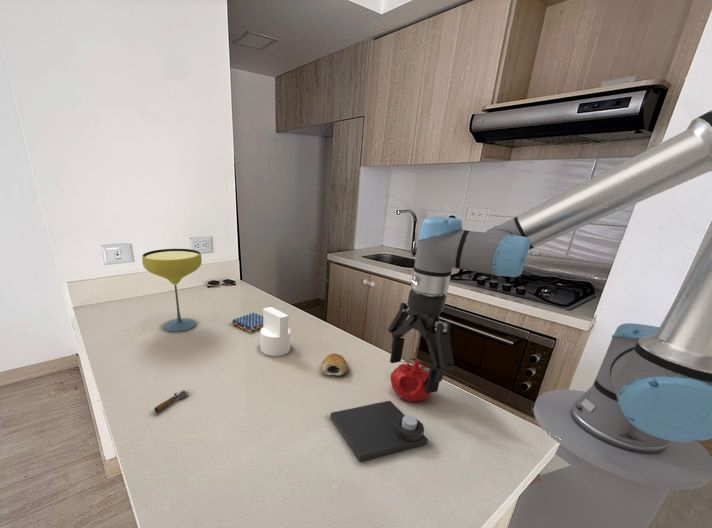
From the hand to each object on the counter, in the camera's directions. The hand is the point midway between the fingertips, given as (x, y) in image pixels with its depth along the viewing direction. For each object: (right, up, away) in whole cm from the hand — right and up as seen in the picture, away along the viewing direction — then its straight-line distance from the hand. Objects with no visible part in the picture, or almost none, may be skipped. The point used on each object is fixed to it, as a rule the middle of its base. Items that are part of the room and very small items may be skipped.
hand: (411, 375), depth 82 cm
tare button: (-5, -8, -13) cm, 16 cm away
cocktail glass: (-68, +11, +37) cm, 78 cm away
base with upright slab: (-34, +4, +22) cm, 41 cm away
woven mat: (-43, +11, +39) cm, 59 cm away
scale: (-11, -10, -11) cm, 18 cm away
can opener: (-56, -6, -4) cm, 57 cm away
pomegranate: (0, -5, +2) cm, 5 cm away
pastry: (-17, 0, +12) cm, 21 cm away
